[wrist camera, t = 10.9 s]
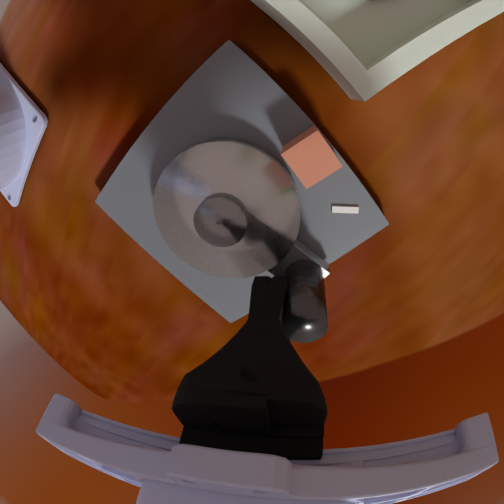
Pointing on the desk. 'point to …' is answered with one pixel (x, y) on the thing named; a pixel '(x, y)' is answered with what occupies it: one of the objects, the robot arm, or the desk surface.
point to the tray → (376, 34)
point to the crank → (242, 225)
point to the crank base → (254, 131)
